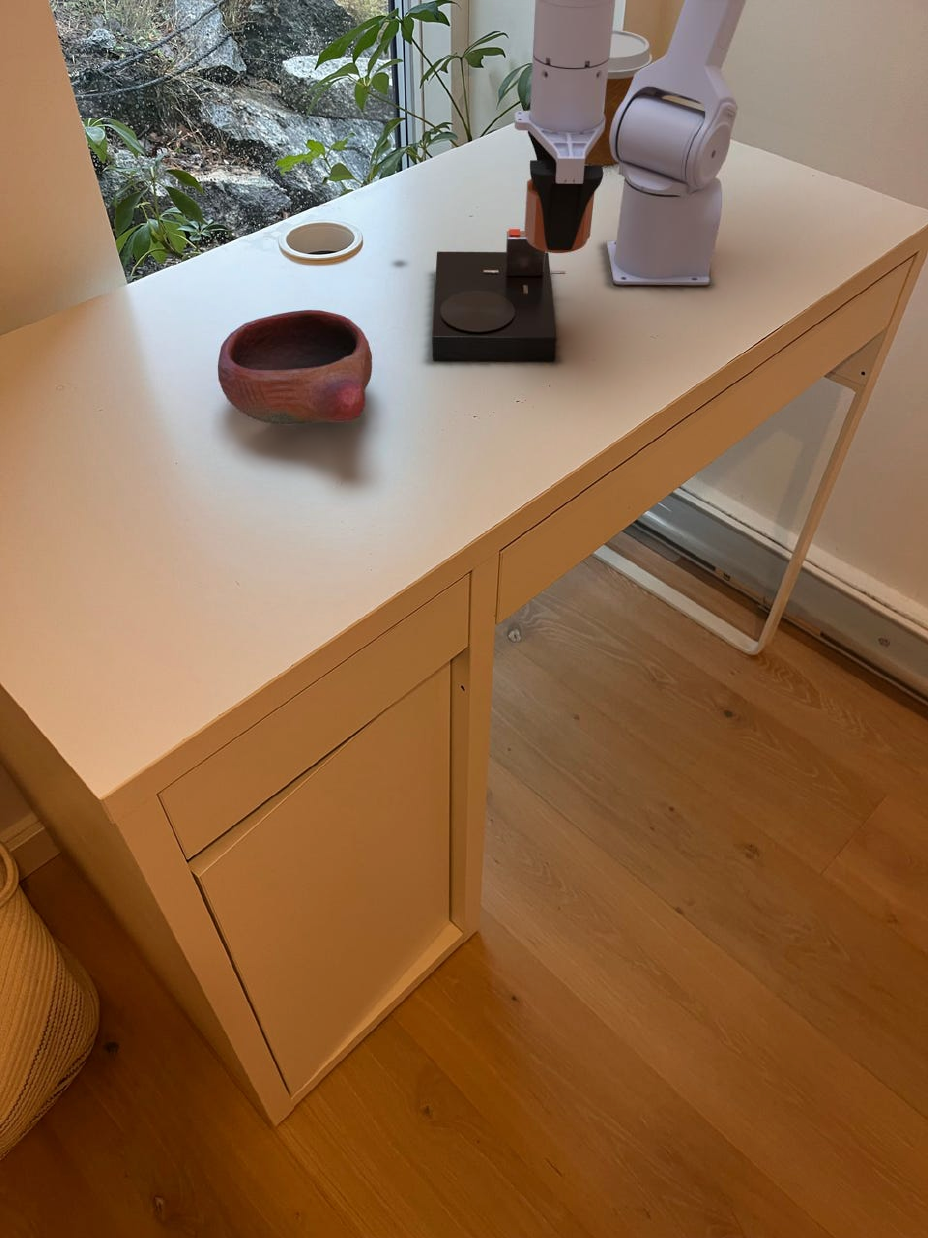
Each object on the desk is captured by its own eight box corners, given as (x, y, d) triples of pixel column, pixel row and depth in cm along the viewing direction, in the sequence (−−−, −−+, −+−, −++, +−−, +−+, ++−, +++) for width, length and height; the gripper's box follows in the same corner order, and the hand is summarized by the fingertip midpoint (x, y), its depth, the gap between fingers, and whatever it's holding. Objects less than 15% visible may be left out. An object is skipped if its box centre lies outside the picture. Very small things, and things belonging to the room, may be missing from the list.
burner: (513, 292, 91) (514, 290, 91) (515, 333, 86) (515, 331, 86) (441, 292, 91) (441, 290, 91) (439, 332, 86) (439, 330, 86)
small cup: (586, 222, 85) (591, 170, 81) (591, 254, 81) (596, 201, 78) (523, 221, 85) (526, 170, 82) (525, 253, 81) (527, 201, 78)
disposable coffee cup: (554, 168, 113) (562, 55, 104) (562, 134, 120) (571, 24, 111) (636, 174, 112) (652, 61, 103) (640, 139, 119) (655, 30, 110)
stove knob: (542, 268, 93) (545, 228, 90) (543, 276, 93) (546, 235, 90) (505, 268, 93) (507, 228, 90) (505, 275, 93) (507, 235, 89)
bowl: (194, 426, 81) (173, 343, 75) (285, 350, 89) (272, 268, 83) (356, 489, 76) (347, 405, 70) (437, 402, 84) (436, 319, 78)
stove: (560, 275, 98) (562, 250, 96) (570, 361, 88) (572, 336, 86) (437, 274, 98) (436, 249, 96) (432, 360, 88) (432, 334, 86)
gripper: (515, 19, 77) (509, 189, 87) (519, 93, 68) (511, 273, 78) (604, 20, 77) (587, 190, 87) (621, 93, 68) (600, 274, 78)
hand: (557, 229), depth 83 cm, fingers closed on small cup, 5 cm apart
